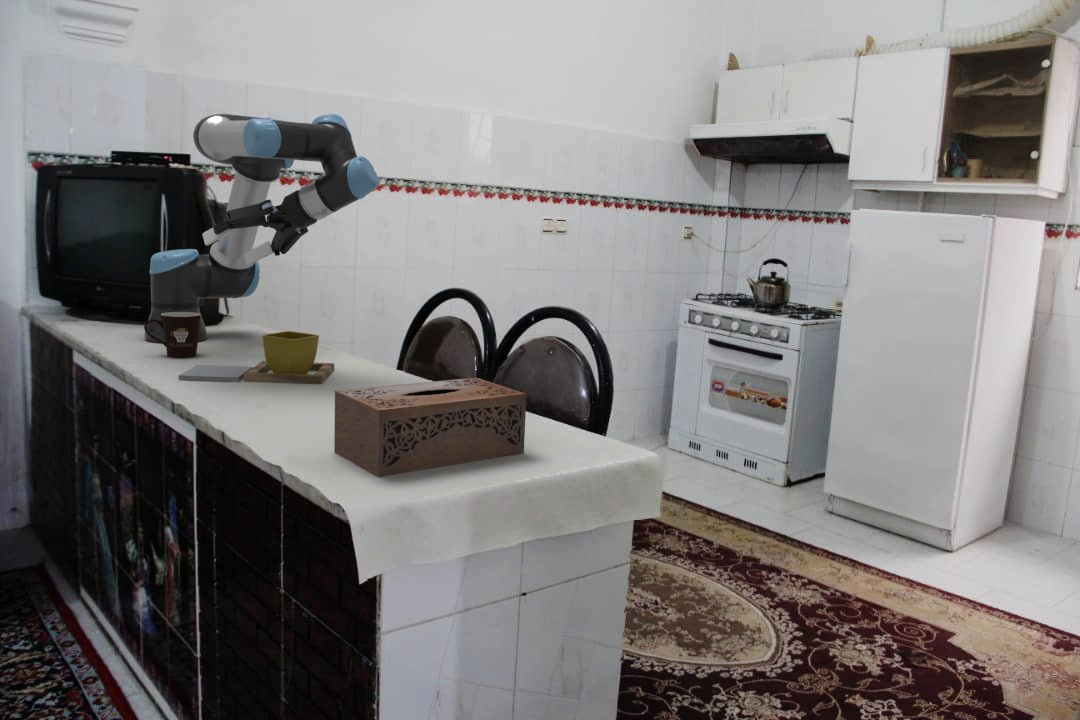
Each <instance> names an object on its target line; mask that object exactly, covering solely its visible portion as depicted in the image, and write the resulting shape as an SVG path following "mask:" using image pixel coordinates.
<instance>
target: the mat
mask: <svg viewBox="0 0 1080 720" xmlns="http://www.w3.org/2000/svg"><path fill="white" fill-rule="evenodd" d="M253 367H254V366H243V365H242V366H241V365H239V366H238V365H208V364H207V365H206V364H196V365H194V366H193V367H191V368H190V369H187V370H186V371H184V372H182V373H180V374H178V381H196V382H197V381H198V382H200V381H201V382H222V383H223V382H224V383H225V382H232V383H238V382H240V381H242V380H244V374H245V373H246V372H248V371H249V370H251V369H252V368H253Z"/></svg>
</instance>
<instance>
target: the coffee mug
mask: <svg viewBox="0 0 1080 720" xmlns="http://www.w3.org/2000/svg"><path fill="white" fill-rule="evenodd" d="M200 316H202V313H200V314H199V313H193V312H169V313H163V314H161V317H162V322H161V321H159V320H156V319H152V320H149V321H148V320H147V321H146V322H145V324H144V326H143V327H144V328H143V330H144V333H145V332H146V333H147V334H148V335H149V336H150V337H151V338H153V339H155V340H156V341H158V342H157V343H159V342H160V344H162V345H163V347H165V348H166V349H165V350H166V354H167V355H166V356H167V358H170V359H192V358H196V357H197V355H198V354H197V352H198V346H199V345H198V344H199V343H198V342H199V341H198V335H199V326H200ZM150 322H157V323H158V324H160V326H161V327H162V329H163V330H164V336H165V342H163V341H161V340H159V339H158V338H156V337H154V336H153V335H151V334H150V333H149V332H148V331H147V328H146V327H147V324H148V323H150Z"/></svg>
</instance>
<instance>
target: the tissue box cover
mask: <svg viewBox="0 0 1080 720" xmlns="http://www.w3.org/2000/svg"><path fill="white" fill-rule="evenodd" d="M526 408H527V393H525V392H522V391H518V390H516V389H514V388H513V389H512V388H511V387H506V386H503V385H501V384H497V383H495V382H491V381H488V380H485V379H482V378H479V377H468V378H456V379H448V380H447V379H445V380H437V381H436V380H435V381H426V382H425V381H424V382H423V381H422V382H415V383H403V384H393V385H381V386H371V387H364V388H363V387H362V388H361V387H360V388H351V389H342V390H341V389H340V390H334V447H333V449H334V451H333V452H334V453H335V454H336V455H338V456H340V457H342V458H343V459H345V460H347V461H349V462H350V463H352V464H353V465H355V466H357V467H359V468H361V469H363V470H364V471H366V472H367V473H370V474H372V475H373V476H374V477H377V478H381V477H388V476H392V475H401V474H406V473H412V472H420V471H424V470H430V469H436V468H438V469H439V468H441V467H442V468H443V467H449V466H454V465H455V466H456V465H460V464H462V465H463V464H467V463H475V462H480V461H486V460H493V459H499V458H504V457H509V456H516V455H523V454H525V453H524V452H525V433H526V411H527V409H526Z"/></svg>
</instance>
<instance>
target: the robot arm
mask: <svg viewBox="0 0 1080 720" xmlns="http://www.w3.org/2000/svg"><path fill="white" fill-rule="evenodd" d="M192 138H193V143H194V146H195V147H196V149H197V151H198V152H199V154H201V155H202V156H203V157H204V158H206V159H208V160H210V161H212V162H215V163H217V164H222V165H230V166H231V167H232V168H233V170H234V171H235V174H234V177H233V181H232V185H231V189H230V194H229V197H228V202H227V207H226V211H223V212H222V217H223V221H221V222H219V223H217V224H216V225H214V226H212V228H210V229H208V230H206V231H204V232H203V233H201V234H202V239H203V241H204V245H205V246H210V245H211V244H212V245H211V247H210V249H209V253H208V254H200V253H199V251H198V249H194V248H185V249H171V250H165V251H160V252H157V253H156V252H155V253H154V254H153V255H152V256H151V258H150V264H149V274H150V277H149V278H150V301H151V304H150V305H151V308H150V314H149V317H148V319H147V321H149V320H152V319H156V320H159V321H161V322H162V317H161V314H163V313H169V312H193V313H199V314H201V312H200V300H201V299H238V298H247V297H249V296H251V295H252V294H253V293H254V292H255V291H256V289H257V287H258V286H259V282H260V273H261V270H260V269H261V268H260V262H259V261H260V260H262V259H264V258H266V257H268V256H270V255H272V254H274V256H275V257H277V256H280V255H281V254H282V255H285V254H287V253H288V252H289V251H290V250H291V249H292V248H293V246H294V245H295V244H296V243H297V242H298V241H299V240H300V238H302V236H304V235H306V234H308V232H309V229H308V228H309V227H310V226H312V225H314V224H316V223H318V221H321V220H323V219H326V218H327V217H328V216H331V215H332V214H334V213H336V212H338V211H340V209H343V208H345V207H347V206H349V205H351V204H353V203H354V202H356V201H359V200H362V199H364V198H365V197H366V196H367V195H369V194H371V193H372V192H374V191H376V189H377V188H378V187H379V177H378V174H377V172H376V171H375V168H374V166H373V165H372V163H371V161H370V160H368V159H367V158H366V157H365V156H363V155H361V156H360V155H359V156H358V155H357V153H356V148H355V146H354V143H353V142H354V141H353V139H352V134H351V131H350V129H349V127H348V124H347V123H346V121H345V119H344V118H343V117H342V116H341V115H338V114H336V113H327V114H326V115H324V114H321V115H319V116H317V117H315V118H314V119H313V120H312V122H311V123H310V122H309V123H307V122H295V121H288V120H287V121H286V120H282V119H274V118H271V117H267V118H266V117H258V116H247V115H246V116H245V115H238V114H236V115H235V114H229V113H217V114H211V115H207V116H205V117H204V118H202V119H200V121H198V123H196V125H195V126H194V129H193V133H192ZM295 161H303V162H304V161H305V162H317V163H320V164H321V167H322V168H323V172H324V175H321V176H320V177H319V178H317V179H315V180H313V181H311V182H309V183H307V184H306V185H303V186H301V187H300V189H297V190H295V191H293V192H291V193H289V194H288V195H286V196H284V198H283V200H282V203H280V204H279V205H273V204H272V203H273V202H272V200H271V199H267V197H268V194H269V190H270V187H271V184H272V183H274V182H276V181H277V180H278V179H279V178H280V175H281V172H282V171H281V170H282V169H284V170H288V169H290V168H291V167H292V166H293V164H294V163H295ZM261 226H262V227H263V228H271V229H273V230H274V231H276V232H275V234H273V235H274V236H273V238H272V240H271V242H270V241H265V242H264V243H262V244H259V245H258V246H256V247H255V248H253V247H254V244H255V240H256V238H257V234H258V230H259V227H261ZM146 328H147V331H148V332H149V333H150V334H151V335H153V336H154V337H156V338H158V339H159V340H161V341H163V342H165V336H164V330H163V329H162V327H161V326H160V324H158V323H157V322H150V323H148V324H147V327H146ZM207 336H208V332H207V328H206V325H205V322H204V319H203V317H202V315H201V316H200V326H199V335H198V342H202V341H205V340H207V339H208V337H207ZM144 340H145V341H147V342H152V343H160V342H158V341H156V340H155V339H153V338H151V337H150V336H149V335H148V334H147V333H146V332H145V331H144ZM160 344H161V343H160Z"/></svg>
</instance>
